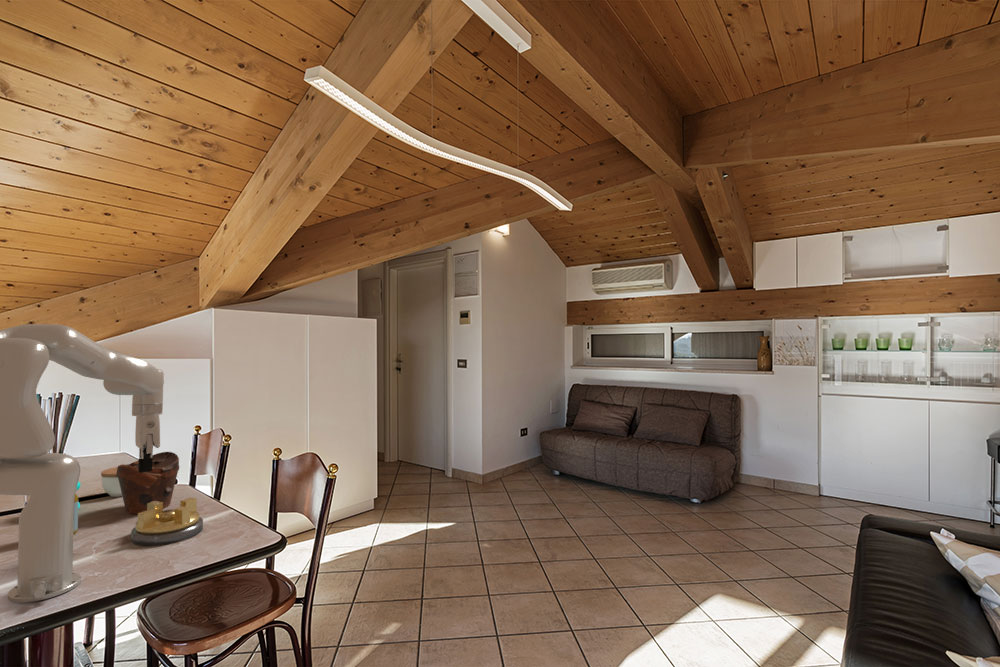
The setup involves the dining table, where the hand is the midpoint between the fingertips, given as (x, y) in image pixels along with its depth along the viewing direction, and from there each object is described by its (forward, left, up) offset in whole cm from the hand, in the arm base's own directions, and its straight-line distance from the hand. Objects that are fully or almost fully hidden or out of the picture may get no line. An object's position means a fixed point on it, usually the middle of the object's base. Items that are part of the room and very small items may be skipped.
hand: (145, 471), depth 149 cm
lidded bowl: (+55, -1, -19) cm, 58 cm away
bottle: (+17, +18, -19) cm, 31 cm away
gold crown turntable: (-3, -5, -17) cm, 18 cm away
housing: (-3, -5, -19) cm, 20 cm away
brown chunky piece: (+29, -5, -19) cm, 35 cm away
